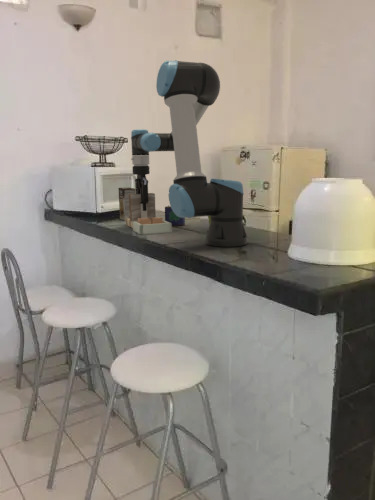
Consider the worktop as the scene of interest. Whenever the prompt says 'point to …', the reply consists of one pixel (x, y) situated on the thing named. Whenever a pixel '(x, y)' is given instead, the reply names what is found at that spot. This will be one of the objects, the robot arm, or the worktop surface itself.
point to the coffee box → (125, 202)
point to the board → (130, 222)
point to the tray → (152, 228)
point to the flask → (173, 217)
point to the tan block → (136, 206)
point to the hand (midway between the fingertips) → (142, 217)
